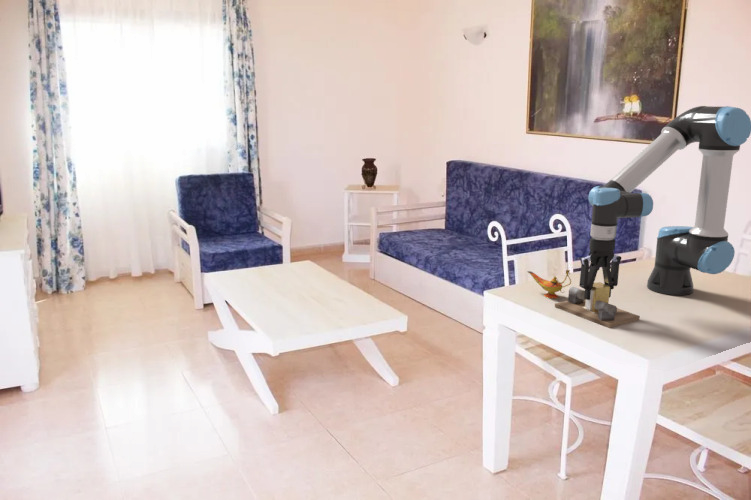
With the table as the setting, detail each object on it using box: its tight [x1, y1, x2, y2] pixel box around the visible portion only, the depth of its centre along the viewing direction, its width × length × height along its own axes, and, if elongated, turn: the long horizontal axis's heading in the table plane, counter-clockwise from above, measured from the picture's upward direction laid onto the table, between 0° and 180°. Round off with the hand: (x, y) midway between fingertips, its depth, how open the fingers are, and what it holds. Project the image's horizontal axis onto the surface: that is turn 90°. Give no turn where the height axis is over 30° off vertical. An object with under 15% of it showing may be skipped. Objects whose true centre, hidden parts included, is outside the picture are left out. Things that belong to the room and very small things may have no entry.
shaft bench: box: [554, 286, 640, 329], centre depth 199 cm, size 22×14×6 cm, turn 30°
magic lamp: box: [527, 269, 572, 299], centre depth 216 cm, size 7×18×11 cm, turn 40°
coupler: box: [585, 282, 610, 312], centre depth 198 cm, size 5×5×8 cm
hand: (596, 307), depth 199 cm, fingers closed on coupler, 5 cm apart
